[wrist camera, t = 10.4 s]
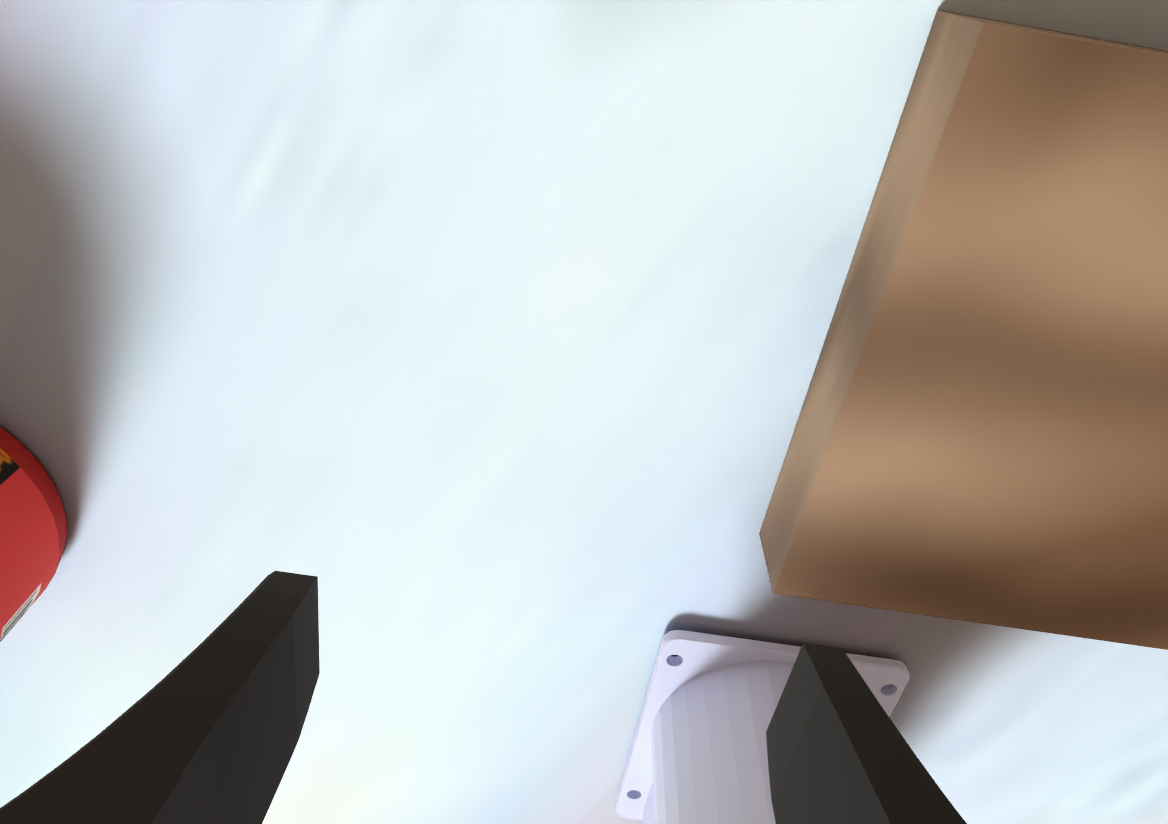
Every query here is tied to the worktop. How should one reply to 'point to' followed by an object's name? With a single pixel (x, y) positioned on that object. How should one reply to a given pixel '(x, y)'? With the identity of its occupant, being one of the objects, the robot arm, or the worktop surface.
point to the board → (999, 352)
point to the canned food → (26, 530)
